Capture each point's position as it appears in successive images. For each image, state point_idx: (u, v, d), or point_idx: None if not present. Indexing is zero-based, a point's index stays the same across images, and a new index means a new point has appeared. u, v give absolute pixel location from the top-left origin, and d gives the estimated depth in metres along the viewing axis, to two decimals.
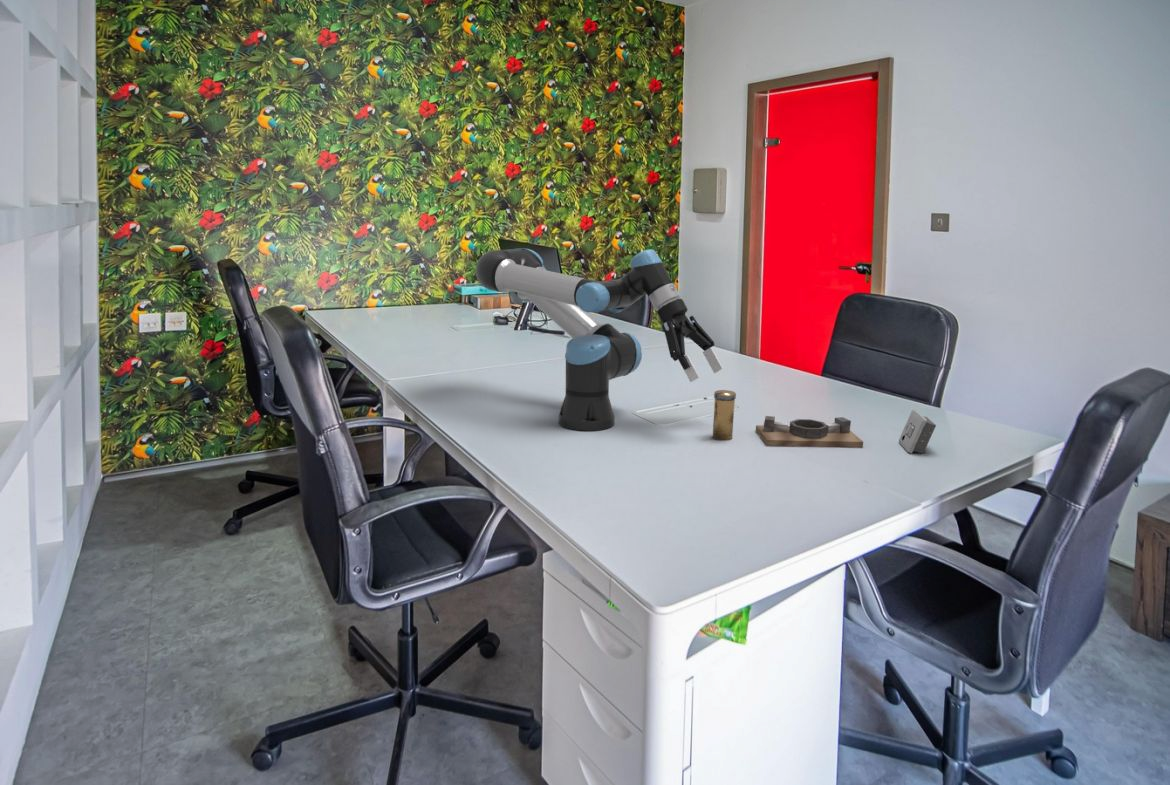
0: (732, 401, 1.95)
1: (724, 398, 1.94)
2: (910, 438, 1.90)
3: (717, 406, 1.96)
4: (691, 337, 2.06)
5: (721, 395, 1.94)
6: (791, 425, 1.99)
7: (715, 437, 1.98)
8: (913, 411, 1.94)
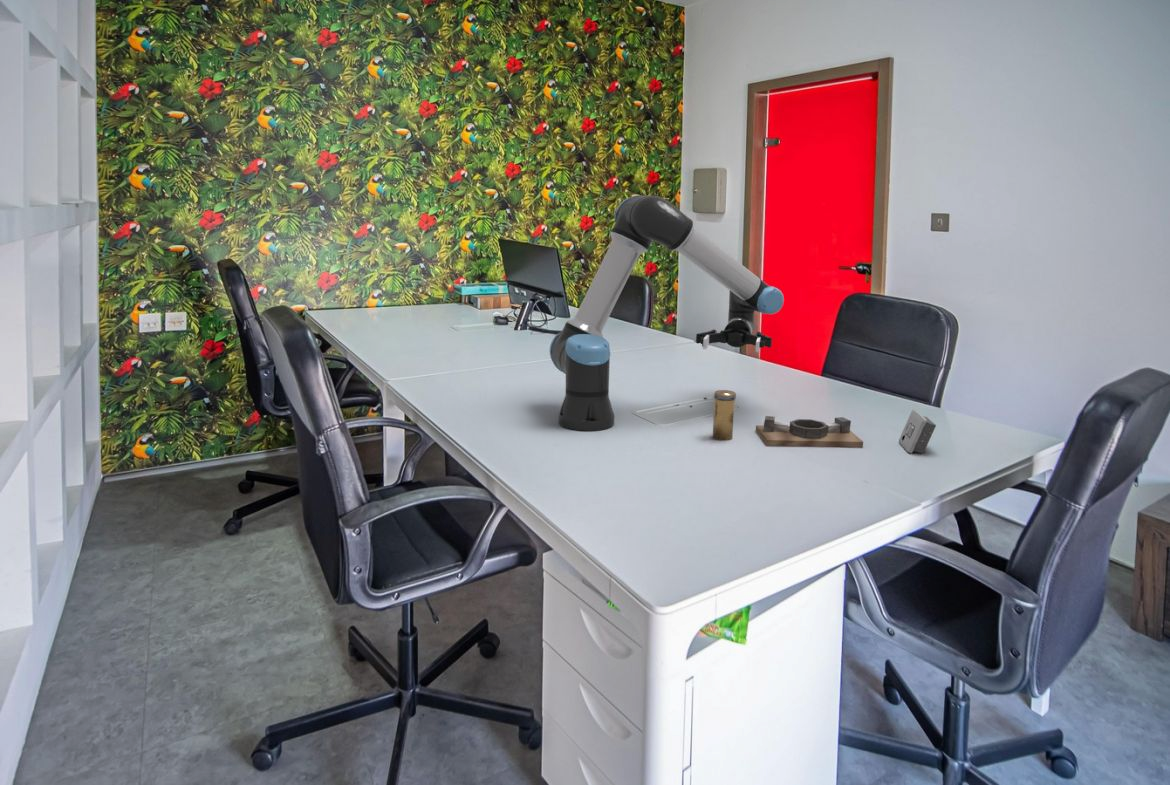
0: (732, 401, 1.95)
1: (724, 398, 1.94)
2: (910, 438, 1.90)
3: (717, 406, 1.96)
4: (721, 335, 2.14)
5: (721, 395, 1.94)
6: (791, 425, 1.99)
7: (715, 437, 1.98)
8: (913, 411, 1.94)
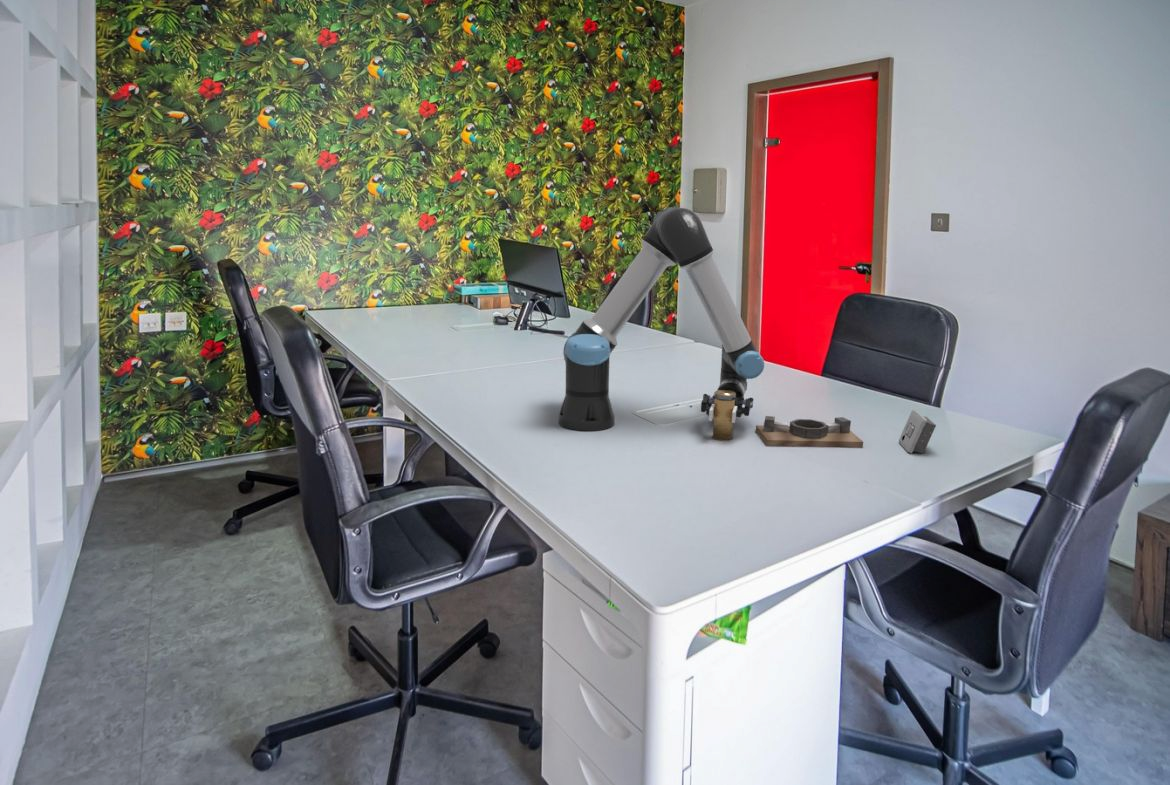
0: (732, 401, 1.95)
1: (724, 398, 1.94)
2: (910, 438, 1.90)
3: (717, 406, 1.96)
4: None
5: (721, 395, 1.94)
6: (791, 425, 1.99)
7: (715, 437, 1.98)
8: (913, 411, 1.94)
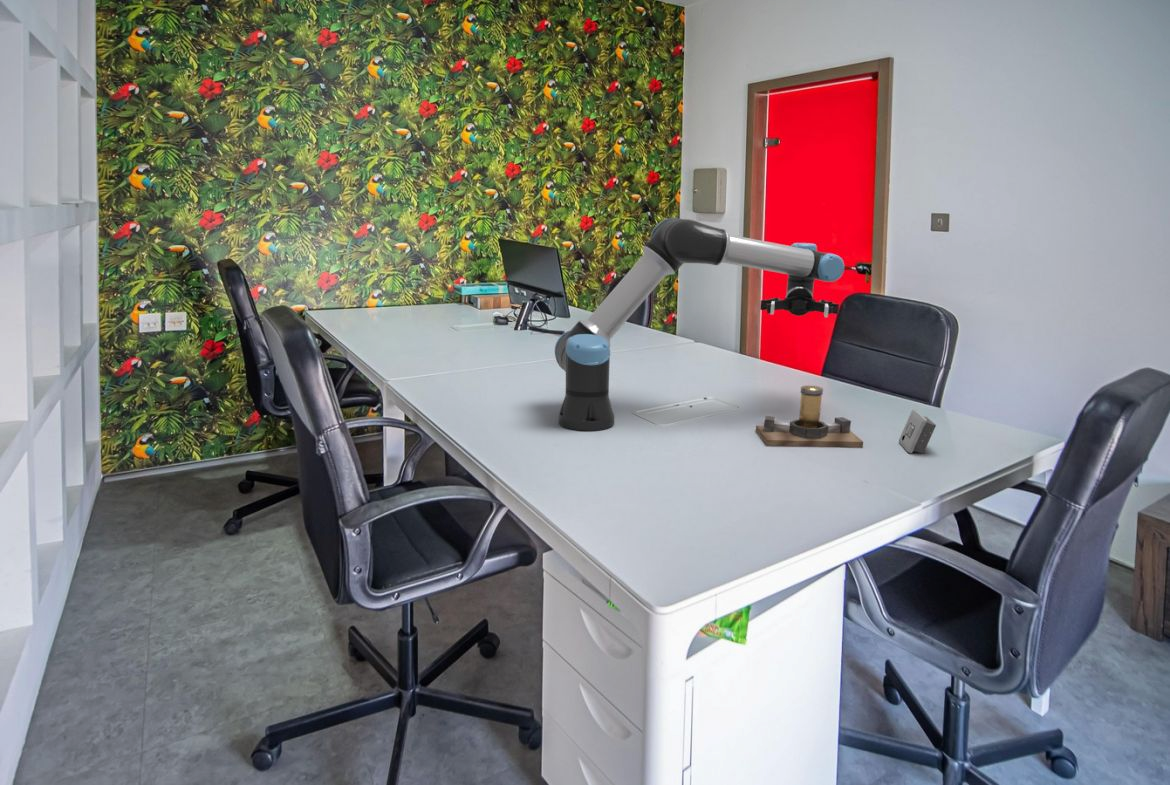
0: (819, 396, 1.95)
1: (812, 393, 1.94)
2: (910, 438, 1.90)
3: (804, 401, 1.96)
4: (785, 302, 2.11)
5: (809, 390, 1.94)
6: (791, 425, 1.99)
7: None
8: (913, 411, 1.94)
